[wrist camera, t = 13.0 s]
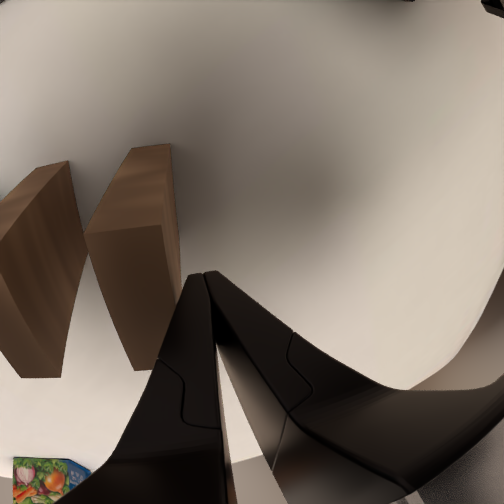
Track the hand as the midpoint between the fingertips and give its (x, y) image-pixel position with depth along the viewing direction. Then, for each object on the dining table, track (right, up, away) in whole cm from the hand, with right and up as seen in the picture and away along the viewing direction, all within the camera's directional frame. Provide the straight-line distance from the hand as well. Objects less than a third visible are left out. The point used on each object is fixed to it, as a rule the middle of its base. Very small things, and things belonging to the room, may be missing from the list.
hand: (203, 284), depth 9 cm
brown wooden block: (-3, +4, +5) cm, 7 cm away
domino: (-8, +3, +4) cm, 9 cm away
